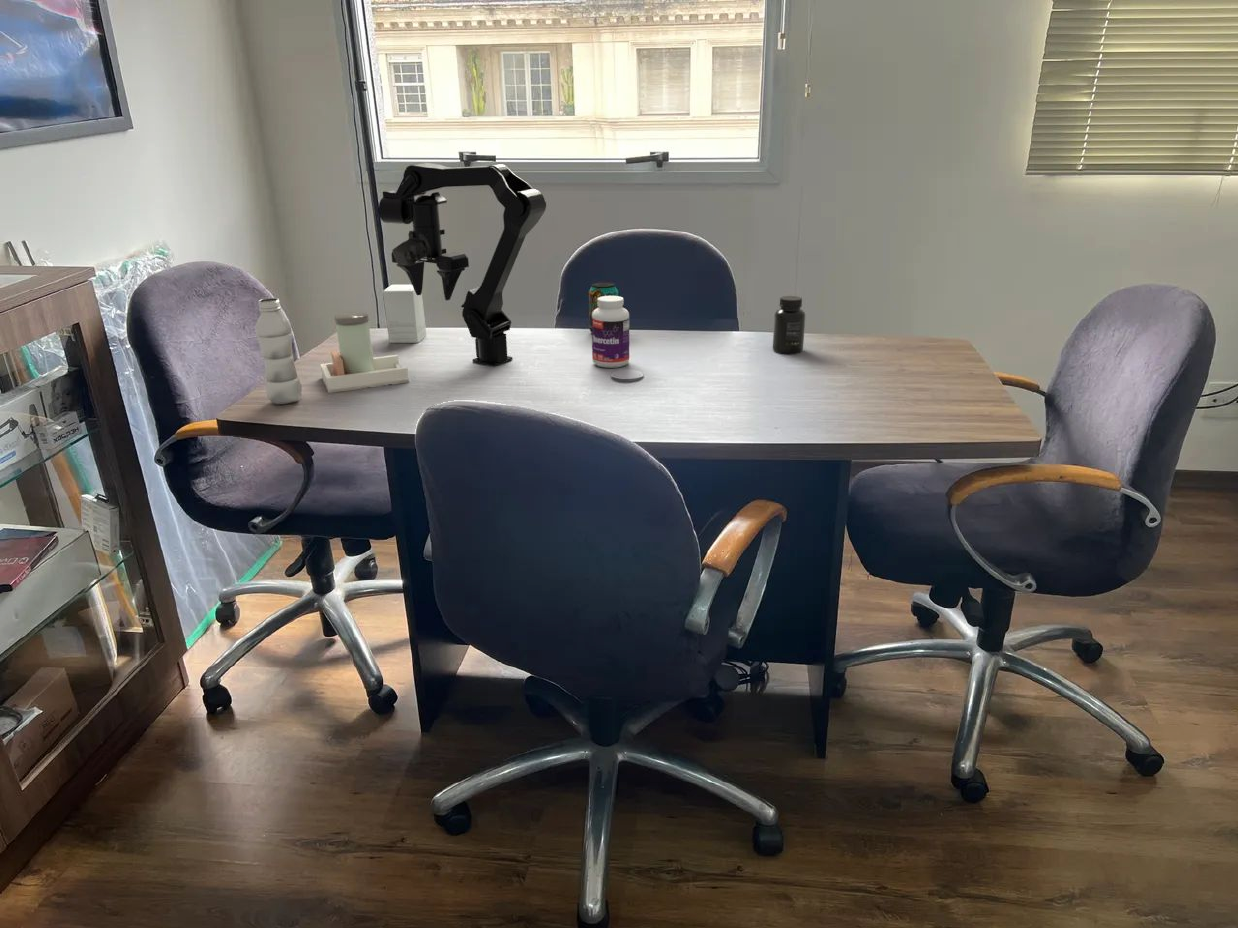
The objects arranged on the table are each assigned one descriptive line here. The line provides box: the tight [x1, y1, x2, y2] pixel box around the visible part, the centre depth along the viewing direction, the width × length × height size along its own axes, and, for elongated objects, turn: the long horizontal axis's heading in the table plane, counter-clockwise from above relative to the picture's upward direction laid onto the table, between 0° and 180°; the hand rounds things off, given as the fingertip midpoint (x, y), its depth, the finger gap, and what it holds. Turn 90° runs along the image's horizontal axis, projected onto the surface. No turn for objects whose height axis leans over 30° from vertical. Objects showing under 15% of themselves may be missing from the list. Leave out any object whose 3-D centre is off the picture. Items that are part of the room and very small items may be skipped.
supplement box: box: [381, 284, 427, 344], centre depth 212 cm, size 7×7×13 cm
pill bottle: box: [591, 295, 630, 369], centre depth 191 cm, size 8×8×14 cm
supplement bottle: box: [772, 295, 806, 355], centre depth 199 cm, size 7×7×12 cm
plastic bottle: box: [254, 297, 303, 405], centre depth 168 cm, size 6×7×20 cm
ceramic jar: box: [334, 311, 375, 375], centre depth 182 cm, size 7×7×13 cm
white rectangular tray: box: [319, 354, 410, 394], centre depth 184 cm, size 16×11×3 cm
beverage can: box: [588, 281, 619, 333], centre depth 215 cm, size 7×7×12 cm
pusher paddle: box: [330, 349, 345, 376], centre depth 182 cm, size 1×8×5 cm, turn 24°
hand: (433, 297), depth 197 cm, fingers open, 9 cm apart
